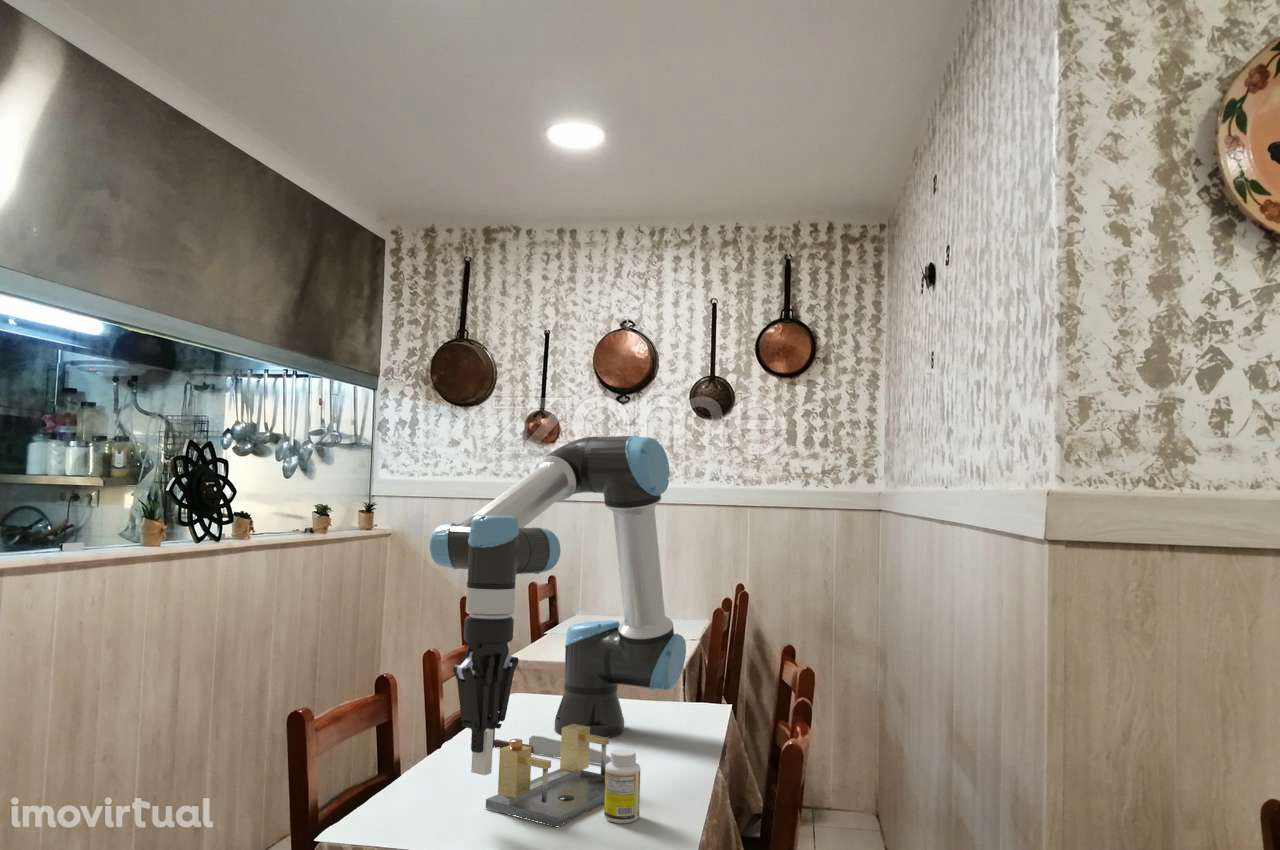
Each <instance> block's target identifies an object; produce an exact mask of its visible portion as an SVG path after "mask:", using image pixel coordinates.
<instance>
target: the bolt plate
mask: <svg viewBox="0 0 1280 850" xmlns="http://www.w3.org/2000/svg"><path fill="white" fill-rule="evenodd" d="M542 779H543V775H541V776H538V777H537V778H534V779H530V792H529V793H527V794H525V795H522V796H520V797H518V798H512V797H508V796H504V795H500V794H498V793H497V794H495V795H493V796H490V797H488V798H486V799H485V809H486V808H487V809H490V810H489V811H491V810H493V811H492V812H495V811H497V812H496V813H499V812H501V813H500V814H503V813H506V814H510V815H516V816H519V817H522V818H527V819H530V820H534V821H538V822H542V823H545V824H549V825H552V826H559V825H561V824H563V823H565V822H567V821H569V820H571V821H573V820H575V819H576V817H577V818H579V817H580V815H581V816H583V815H584V813H585V814H587V813H589V812H590V810H591V811H592V809H593V810H594V808H595V809H597V808H598V807H600V806H602V805H605V775H604V776H602V775H601V773H598V772H594V771H588V770H585V769H584V770H582V771H579V772H573V771H568V770H564V769H560V768H558V769H556V770H553V771H551V772H548V783H547V802H546V803H542ZM487 809H486V810H487ZM588 811H589V812H588ZM586 812H587V813H586ZM506 814H505V815H506ZM582 814H583V815H582ZM510 815H509V816H510ZM578 816H579V817H578ZM522 818H521V819H522ZM574 818H575V819H574ZM572 819H573V820H572ZM569 822H570V821H569ZM567 823H568V822H567ZM545 824H544V825H545ZM565 824H566V823H565ZM563 825H564V824H563ZM552 826H551V827H552ZM561 826H562V825H561ZM559 827H560V826H559Z"/></svg>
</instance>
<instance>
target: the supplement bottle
mask: <svg viewBox="0 0 1280 850" xmlns="http://www.w3.org/2000/svg"><path fill="white" fill-rule="evenodd" d="M610 759H611V762H609V763H608V764H607V765H606V769H605V803H604V804H603V807H604V811H603V813H604V818H605V819H606V820H607V821H609V822H610V823H611V822H612V823H615V824H629V823H634V822H636V821H637V820H638V819H639V817H640V797H641V796H640V794H641V766H640V764H639V763H637V762H636V760H637V755H636V751H635V750H633V749H630V748H614V749H612V750H611V752H610Z"/></svg>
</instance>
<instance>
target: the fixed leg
mask: <svg viewBox="0 0 1280 850" xmlns="http://www.w3.org/2000/svg"><path fill="white" fill-rule="evenodd" d="M560 735H561V736H560V737H561V739H560V740H561V758H559V759H560V761H559V762H560V764H559V766H560V767H559V769H564V770H568V771H573V772H579V771H582V770H584V771H585V770H586V769H588V768H589V763H590V762H589V748H590V743H591V744H596V745H601V764H600V774H601V775H602V776H604V775H605V769H606V755H607V745H609V743H610V737H602V736H596V735H591V734H590V727H588V726H582V725H577V724H571V725H568V726H566V727H563V728H562V732H561V734H560Z"/></svg>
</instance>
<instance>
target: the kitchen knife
mask: <svg viewBox="0 0 1280 850" xmlns="http://www.w3.org/2000/svg"><path fill="white" fill-rule="evenodd" d="M509 745H510V741H507V740H501V739H496V738H495V739H494V746H495V747H494V748H496V747H500V748H499V749H501V748H503V747H506V746H509ZM522 746H527V747H532V751H531V753H535V754H534V755H537V754H543V755H548V756H547V757H549V756H555V757H561V739H555V738H550V737H548V736H543V735H535V734H533V735H531V736H530V737H529V738H528V744H526V743H522ZM601 752H602V750H601V751H600V750H598V749H595V748H593V747H589V763H592V764H593V763H594V764H600V765H601ZM543 755H542V756H543ZM610 757H611V755H608V754H606V765H607V764H608V763H609V762H611V759H610Z"/></svg>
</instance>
